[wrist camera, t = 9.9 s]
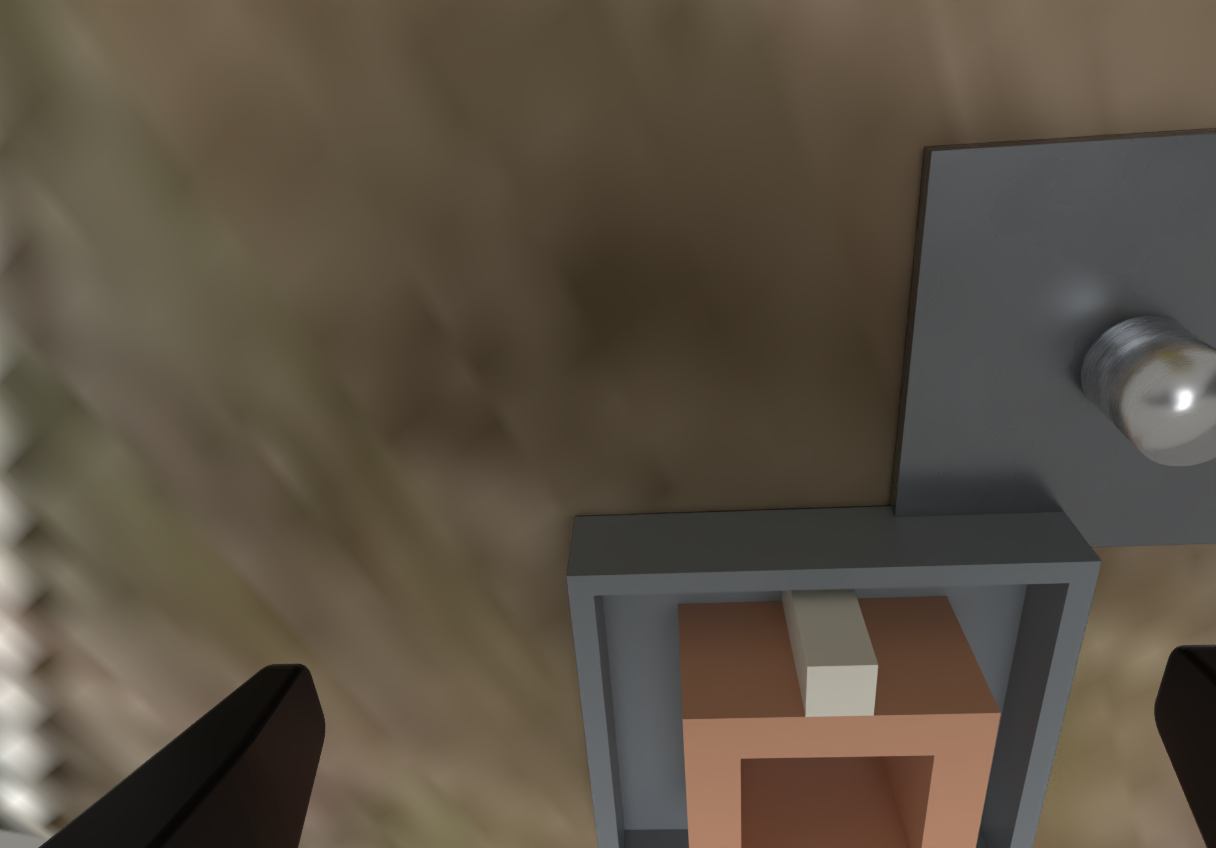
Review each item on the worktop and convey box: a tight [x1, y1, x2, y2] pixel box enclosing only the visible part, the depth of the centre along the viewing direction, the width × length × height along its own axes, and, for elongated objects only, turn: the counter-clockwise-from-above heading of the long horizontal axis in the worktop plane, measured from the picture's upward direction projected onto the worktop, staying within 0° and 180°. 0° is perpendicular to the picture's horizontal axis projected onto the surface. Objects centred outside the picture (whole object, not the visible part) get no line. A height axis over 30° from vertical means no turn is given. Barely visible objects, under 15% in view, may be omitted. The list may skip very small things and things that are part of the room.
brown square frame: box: [678, 589, 1001, 848], centre depth 22 cm, size 8×7×4 cm
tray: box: [566, 506, 1102, 848], centre depth 24 cm, size 12×12×2 cm
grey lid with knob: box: [890, 128, 1216, 547], centre depth 19 cm, size 10×10×3 cm
